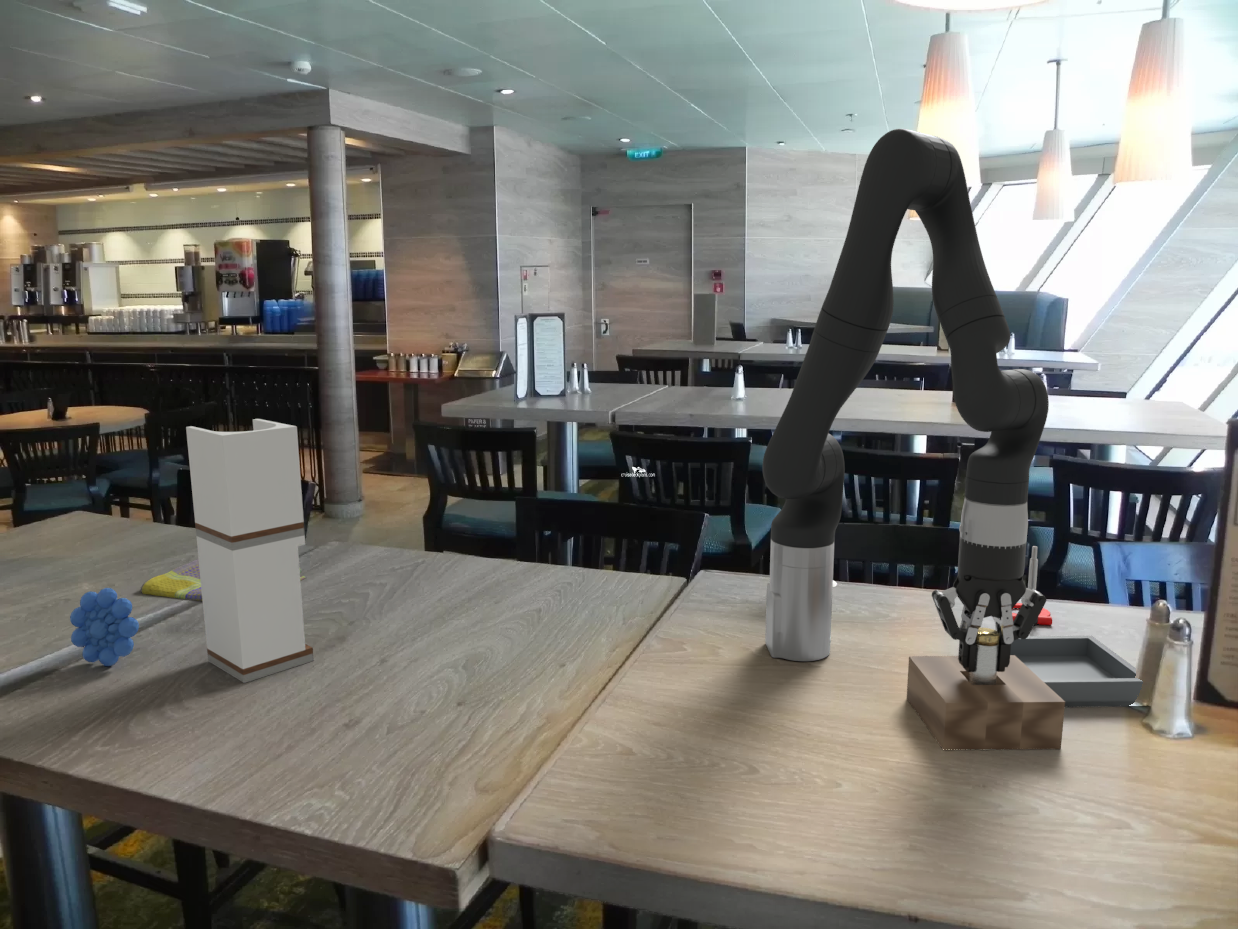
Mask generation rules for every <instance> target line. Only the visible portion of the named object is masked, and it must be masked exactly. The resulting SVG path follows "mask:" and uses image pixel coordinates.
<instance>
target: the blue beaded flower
mask: <svg viewBox="0 0 1238 929" xmlns="http://www.w3.org/2000/svg"><path fill="white" fill-rule="evenodd" d="M132 610H133V603H132V601H131V600H129V599H128V598H127V597H120V598H118V593H117V591H116V590H114V589H113V588H112V587H104V588H102V589H100V590H99V591H98V593H97V592H96V591H92V590H91V591H90V590H89V591H87V592H85V593H84V594H82V596H81V598H80V600H79V606H78V607H76V608H74V609H73V610H72V611H71V612H70V616H69V620H70V621H69V622H70V624H71V625H72V626H74V627H75V629H74V630H73V631H72V633H71V636H70V640H71V641H70V642H71V643H72V644H73V646H75V647H77V648H82V654H81V655H82V658H83V660H85V661H86V662H87V663H95V662H98V661H99V663H100V664H101V665H103V666H105V667H112V666H114V665H116V663H117V662H118V661H119V659H120V657H122V658H124V657H126V656H129V655H130V654H131V653H132V651H133V650H134V643H135V642H134V640H133V639H132V638H133V637H135V635H136V634H137V633H138V631H139V628H140V624H139V620H137V619H136V618H134V617H132V616H130V615H131V613H132Z"/></svg>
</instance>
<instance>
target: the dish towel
mask: <svg viewBox="0 0 1238 929" xmlns="http://www.w3.org/2000/svg"><path fill="white" fill-rule="evenodd" d="M301 573H302V569H301V568H300V574H301ZM305 579H306V576H305V575H300V582H301V581H303V580H305ZM140 592H141V593H142V594H143V595H152V596H158V597H163V598H165V597H167V598H171V599H178V600H179V599H180V600H189V601H190V600H191V601H200V602H201V601H202V590H201V580H200V569H199V559H198V558H197V559H195V560H193V561H190V562H188V563H185V564H182V565H180V566H178V567H175V568H174V569H171V570H170V571H168V572H166V573H162V574H159V575H156V576H154V577H152V578H149V579H148V580H146V581H144V582H143V584H142V585H141V587H140ZM202 602H203V601H202Z"/></svg>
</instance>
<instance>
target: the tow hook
mask: <svg viewBox="0 0 1238 929" xmlns="http://www.w3.org/2000/svg"><path fill="white" fill-rule="evenodd" d="M1038 548H1039V547H1038V546H1036V545H1033V546H1032V548H1031V558H1029V565H1028V566H1029V567H1028V579H1027V580H1028V583H1027V588H1028V589H1030V590H1031V589H1035V590H1037V579H1038V578H1037V577H1038V564H1039V559H1038V558H1037V557H1038ZM1021 606H1022V602H1017V603H1016V605H1015V606H1014V607H1013V608H1021ZM1013 608H1012V610H1014V609H1013ZM1016 615H1017V613H1016V612H1012V617H1013V621H1014V619H1015V617H1016ZM1037 624H1039V625H1040V626H1042V625H1043V626H1052V625H1053V618H1052V616H1051V612H1050V611H1049V610H1048V609H1047V608H1044V607H1043V609H1042V611H1041V612H1040V614H1039V616H1038V618H1037V620H1036V622H1035V624H1034V626H1039V625H1037Z"/></svg>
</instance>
